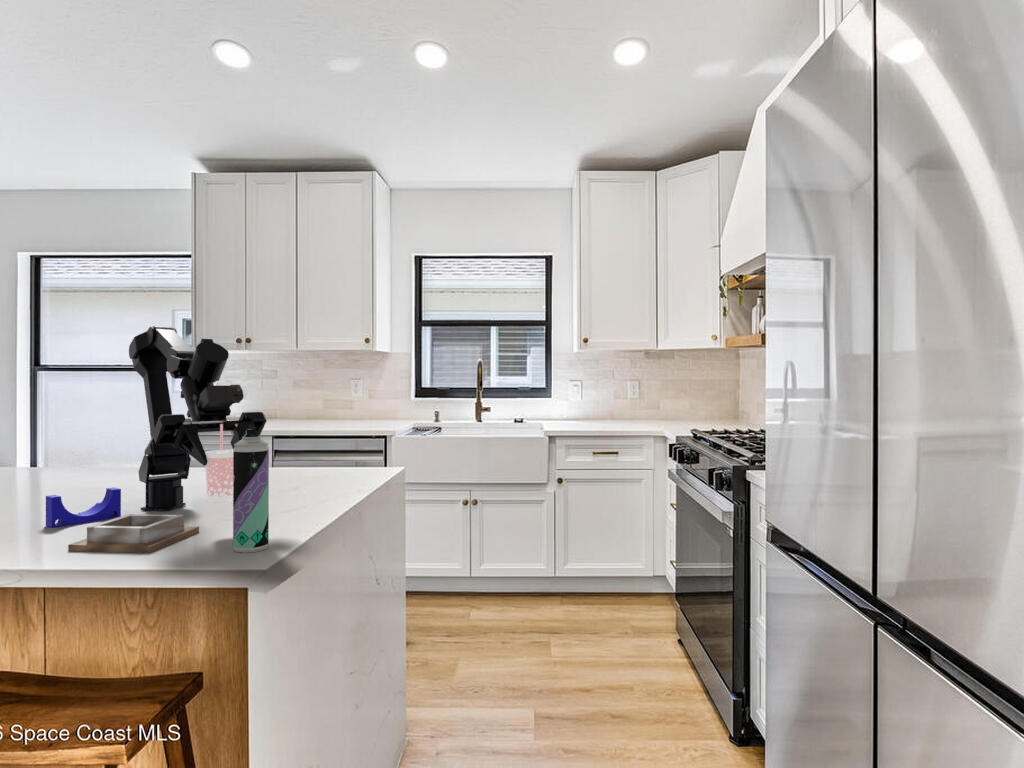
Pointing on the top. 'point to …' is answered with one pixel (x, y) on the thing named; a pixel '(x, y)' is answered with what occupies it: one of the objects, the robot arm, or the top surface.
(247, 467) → the spray can
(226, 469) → the beverage cup
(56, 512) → the blue curved cradle bracket
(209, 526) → the top surface
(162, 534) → the cup holder board
